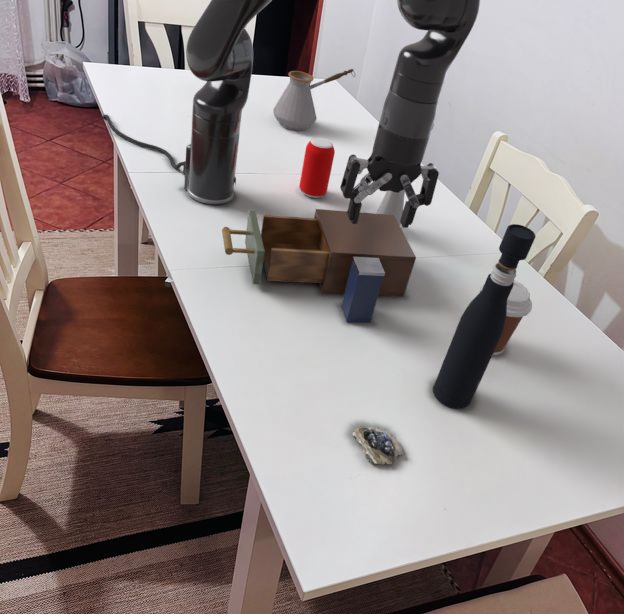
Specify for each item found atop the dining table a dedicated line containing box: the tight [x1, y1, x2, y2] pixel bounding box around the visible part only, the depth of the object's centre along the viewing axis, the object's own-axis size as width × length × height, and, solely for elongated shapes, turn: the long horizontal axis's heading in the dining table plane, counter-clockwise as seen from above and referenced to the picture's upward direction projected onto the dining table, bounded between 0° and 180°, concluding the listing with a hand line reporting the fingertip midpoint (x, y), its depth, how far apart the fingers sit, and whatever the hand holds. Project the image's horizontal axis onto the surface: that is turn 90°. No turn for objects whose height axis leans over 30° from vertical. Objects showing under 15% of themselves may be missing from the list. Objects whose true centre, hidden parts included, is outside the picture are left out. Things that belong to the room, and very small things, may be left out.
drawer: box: [221, 209, 329, 286], centre depth 118 cm, size 20×14×7 cm
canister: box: [340, 257, 385, 323], centre depth 112 cm, size 4×4×10 cm
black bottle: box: [432, 223, 536, 410], centre depth 95 cm, size 6×6×30 cm
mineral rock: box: [352, 425, 405, 466], centre depth 92 cm, size 7×8×2 cm
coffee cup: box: [479, 279, 533, 356], centre depth 113 cm, size 9×9×12 cm
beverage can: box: [299, 137, 336, 199], centre depth 143 cm, size 6×6×12 cm
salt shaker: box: [375, 190, 406, 226], centre depth 138 cm, size 6×6×13 cm
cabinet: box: [313, 208, 417, 298], centre depth 123 cm, size 16×15×9 cm
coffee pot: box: [272, 68, 356, 132], centre depth 172 cm, size 21×12×15 cm, turn 120°
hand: (378, 223), depth 104 cm, fingers open, 8 cm apart
